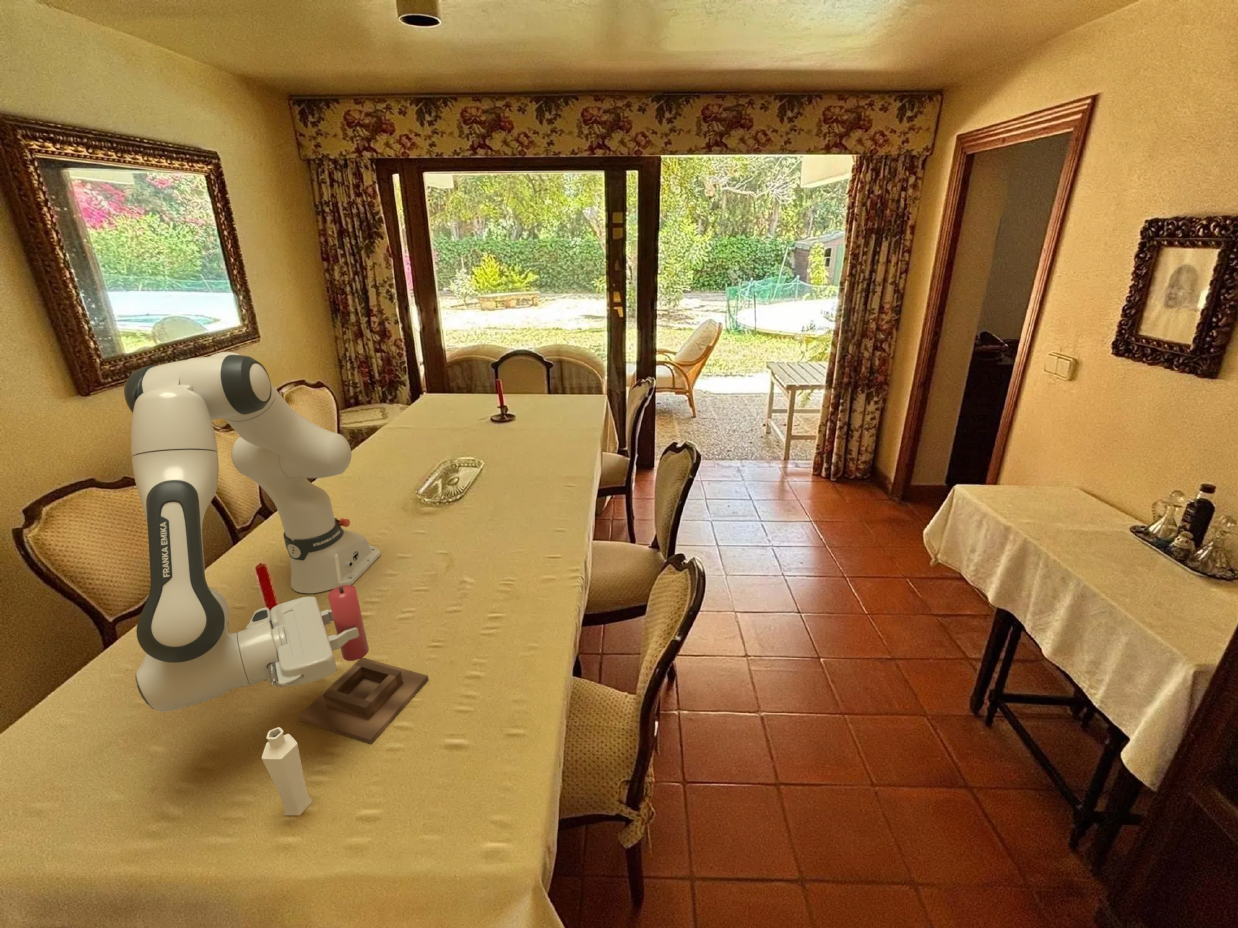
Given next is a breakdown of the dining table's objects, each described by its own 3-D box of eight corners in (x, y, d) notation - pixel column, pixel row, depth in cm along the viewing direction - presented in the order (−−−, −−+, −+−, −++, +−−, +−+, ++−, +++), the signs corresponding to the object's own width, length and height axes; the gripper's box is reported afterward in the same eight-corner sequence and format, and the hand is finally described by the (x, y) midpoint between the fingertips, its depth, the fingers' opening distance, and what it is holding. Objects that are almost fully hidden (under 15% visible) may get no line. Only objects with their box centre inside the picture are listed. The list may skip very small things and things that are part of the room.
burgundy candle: (348, 644, 106) (333, 580, 101) (372, 643, 106) (358, 579, 101) (338, 661, 102) (322, 595, 97) (363, 660, 102) (348, 594, 97)
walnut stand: (362, 660, 118) (359, 645, 116) (428, 679, 113) (425, 663, 112) (299, 719, 104) (294, 703, 103) (371, 744, 99) (367, 726, 98)
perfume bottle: (274, 807, 89) (250, 735, 83) (303, 787, 92) (281, 716, 86) (288, 825, 86) (264, 752, 80) (318, 803, 89) (296, 732, 83)
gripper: (265, 674, 86) (364, 639, 93) (255, 604, 102) (340, 579, 109) (275, 706, 88) (370, 669, 95) (264, 633, 104) (346, 606, 111)
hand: (354, 621), depth 102 cm, fingers closed on burgundy candle, 4 cm apart
